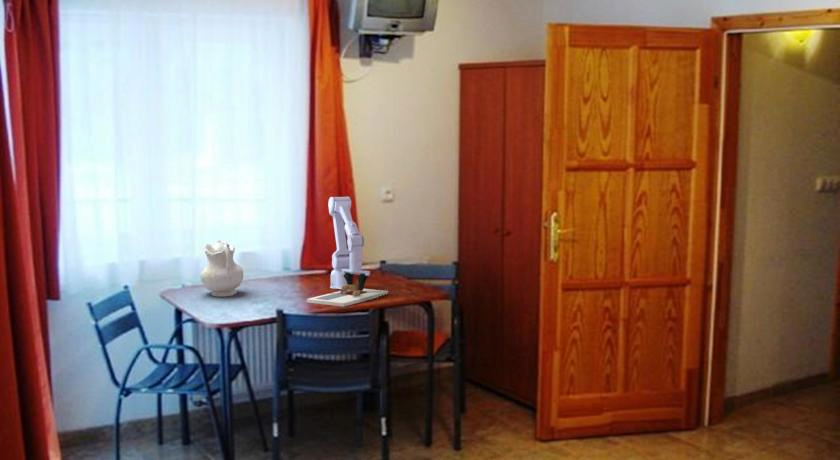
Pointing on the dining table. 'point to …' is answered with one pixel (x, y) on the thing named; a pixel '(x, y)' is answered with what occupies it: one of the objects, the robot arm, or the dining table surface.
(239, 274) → the ceramic pitcher
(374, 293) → the shutter
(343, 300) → the puzzle board
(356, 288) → the lion figurine
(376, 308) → the dining table surface
